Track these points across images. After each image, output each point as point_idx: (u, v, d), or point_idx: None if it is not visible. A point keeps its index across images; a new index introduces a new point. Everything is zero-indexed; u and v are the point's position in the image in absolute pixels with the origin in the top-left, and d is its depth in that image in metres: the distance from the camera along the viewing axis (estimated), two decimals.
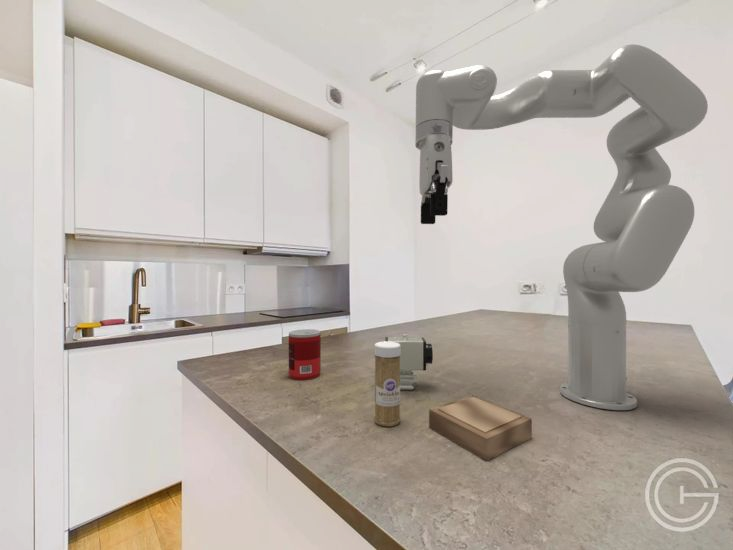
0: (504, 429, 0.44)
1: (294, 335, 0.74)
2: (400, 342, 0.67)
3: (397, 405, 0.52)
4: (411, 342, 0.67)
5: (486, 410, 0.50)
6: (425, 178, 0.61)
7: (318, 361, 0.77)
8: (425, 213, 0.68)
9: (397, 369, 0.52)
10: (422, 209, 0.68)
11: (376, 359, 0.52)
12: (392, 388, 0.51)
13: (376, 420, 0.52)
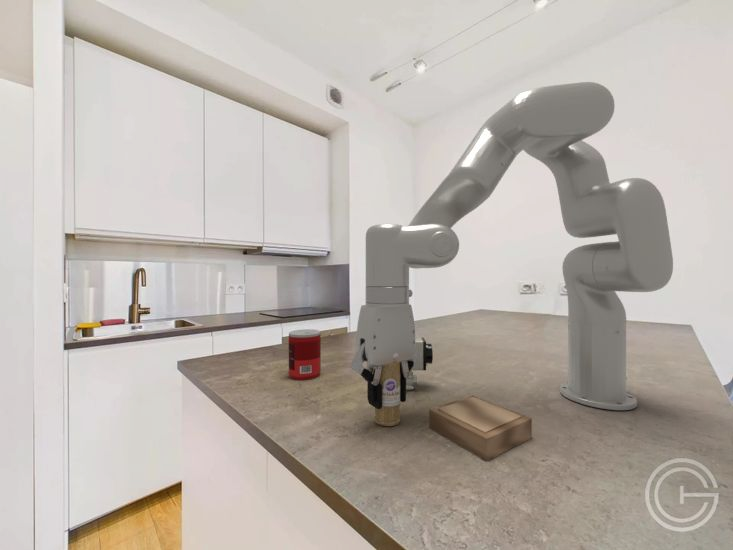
0: (504, 429, 0.44)
1: (294, 335, 0.74)
2: None
3: (397, 405, 0.52)
4: None
5: (486, 410, 0.50)
6: (407, 351, 0.53)
7: (318, 361, 0.77)
8: None
9: (397, 369, 0.52)
10: None
11: None
12: (392, 388, 0.51)
13: (376, 420, 0.52)
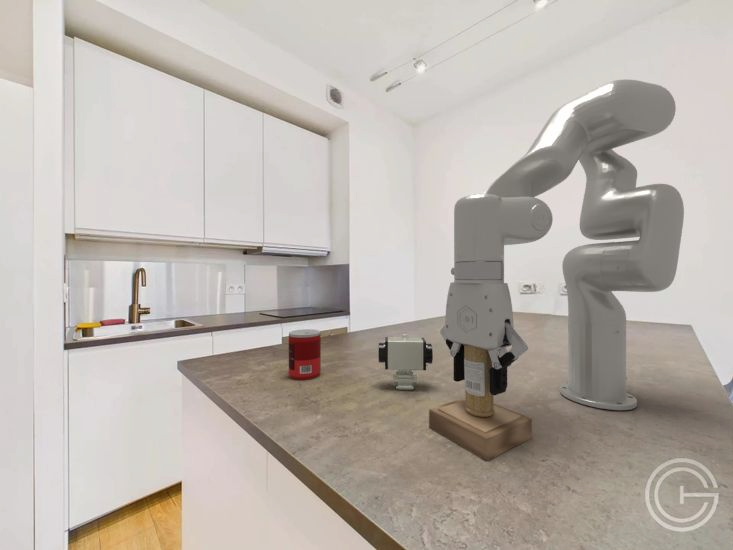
0: (504, 429, 0.44)
1: (294, 335, 0.74)
2: (400, 342, 0.67)
3: None
4: (411, 342, 0.67)
5: None
6: None
7: (318, 361, 0.77)
8: None
9: None
10: None
11: None
12: None
13: (491, 412, 0.48)
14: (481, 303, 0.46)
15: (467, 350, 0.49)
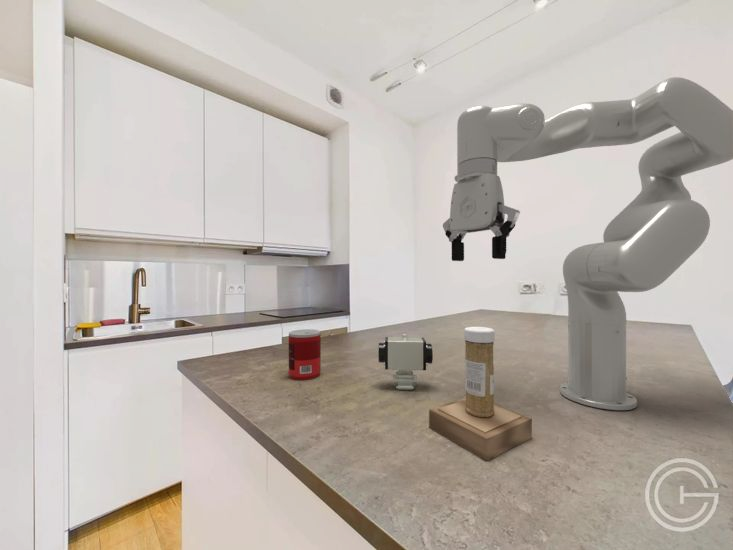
0: (504, 429, 0.44)
1: (294, 335, 0.74)
2: (400, 342, 0.67)
3: None
4: (411, 342, 0.67)
5: None
6: None
7: (318, 361, 0.77)
8: None
9: None
10: None
11: (488, 346, 0.48)
12: None
13: (491, 413, 0.48)
14: (479, 191, 0.58)
15: (468, 350, 0.49)
